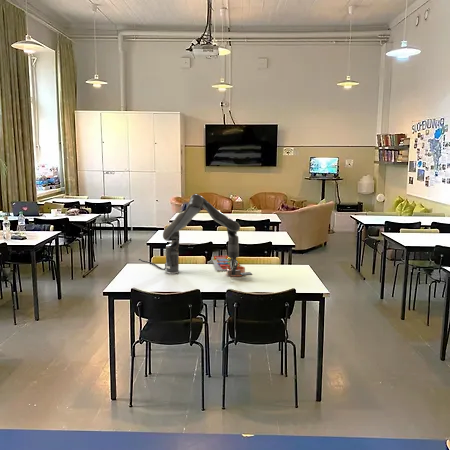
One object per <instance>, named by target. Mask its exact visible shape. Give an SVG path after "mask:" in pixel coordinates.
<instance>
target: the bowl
mask: <svg viewBox="0 0 450 450" xmlns="http://www.w3.org/2000/svg"><path fill="white" fill-rule="evenodd" d="M229 270H231V267H230V266H229V267H227V271H229ZM236 270H241V273H243V272H246V267H245V266H242V265H240V266H237V269H236ZM227 271H226V272H227ZM232 277H233V278H234V277H237V278H238V277H242V276H241V275H233V276H232Z"/></svg>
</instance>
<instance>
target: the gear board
mask: <svg viewBox="0 0 450 450" xmlns="http://www.w3.org/2000/svg"><path fill="white" fill-rule="evenodd" d="M227 258H228V255H213V257H211V258H210V259H211V261H212V263H213V265H214V267H215V269H216V271H217V272H227V267H229V266H230V261H229V259H227ZM237 266H241V264H240V263H239V262H238V261H237Z"/></svg>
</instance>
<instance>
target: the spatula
mask: <svg viewBox="0 0 450 450" xmlns="http://www.w3.org/2000/svg"><path fill="white" fill-rule="evenodd" d="M226 275H227V276H228V277H233V275H232V270H229V271H226ZM235 275H241V276H240V277H244V276H253V273H252V272H251V271H248V272H247V271H245V272H243V273H241V270H235Z"/></svg>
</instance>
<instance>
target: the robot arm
mask: <svg viewBox="0 0 450 450" xmlns="http://www.w3.org/2000/svg"><path fill="white" fill-rule="evenodd" d="M202 209H204V210H205V211H206V212H207V213H208V215H209V216H210V217H211V219H212V221H214V222H216V223H217V224H219V225H221V226H223V227H225V228H226V232H227V236H228V239H227V242H228V244H227V257H230V258H231V259H229V261H230V267H231V270H232V275H235V270H236V269H237V262H238V261H237V259H238V258H239V257H240V246H239V244H240V243H239V239H240V238H239V235H238V232H239V231H240V229H241V226H240V224H239V222H237V221H236V220H234V219H232V218H230V217H229V216H227V214H224V213H222V212H221V211H220V210H218V209H217V208H215V206H213V204H211V203H210V202H209V201H208V200H206V199H205V197H203V196H202V195H200V194H198V193H194V194H192V195H190V198H189V202H188V204H187V206H186V208H185V210H184V211H180V212H179V213H178V214H177V215H176V216H175V218H174V219H173V220H172V222H171V223H170V224H169V225H167V226H166V227H165V228H164V230H163V232H162V238H163V240H164V241H166V242H170V243H168V244H167V245H166V246H165V263H164V268H162V267H160V266H159V265H158V264H156V263H154V262H150V261H148V260H143V259H141V258H139V259H138V261H141V262H142V263H147V264H151V265H153V266H155V267H156V268H158V269H160V270H163V271H164V270H165V273H166V274H168V275H177V274H179V272H180V264H179V263H180V260H179V259H180V258H179V247H180V231H181V230H183V229H184V228H186V227H187V226H188V225H189V224H190V222H191V221H192V219H194V217H195V216H197V214H199V213H200V212H201V210H202Z"/></svg>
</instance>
